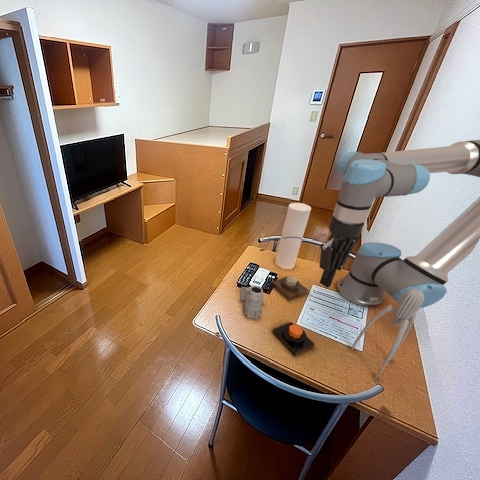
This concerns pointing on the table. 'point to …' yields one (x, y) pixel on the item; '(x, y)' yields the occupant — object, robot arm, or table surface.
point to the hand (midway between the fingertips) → (324, 284)
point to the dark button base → (293, 340)
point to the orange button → (295, 331)
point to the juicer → (399, 319)
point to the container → (292, 234)
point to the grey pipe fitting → (252, 300)
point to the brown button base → (289, 289)
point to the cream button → (291, 281)
